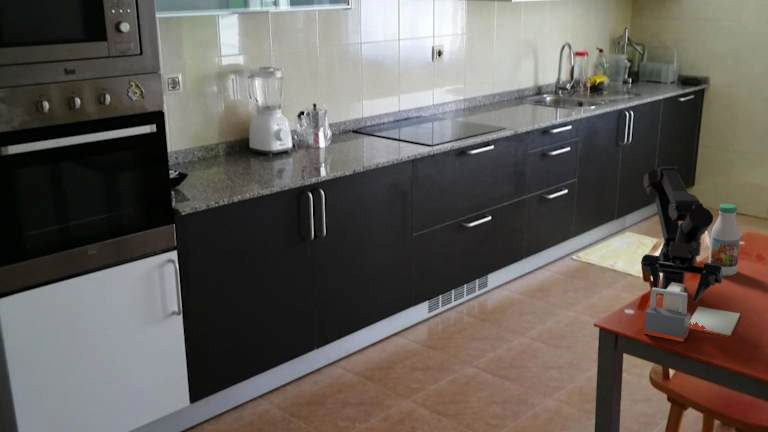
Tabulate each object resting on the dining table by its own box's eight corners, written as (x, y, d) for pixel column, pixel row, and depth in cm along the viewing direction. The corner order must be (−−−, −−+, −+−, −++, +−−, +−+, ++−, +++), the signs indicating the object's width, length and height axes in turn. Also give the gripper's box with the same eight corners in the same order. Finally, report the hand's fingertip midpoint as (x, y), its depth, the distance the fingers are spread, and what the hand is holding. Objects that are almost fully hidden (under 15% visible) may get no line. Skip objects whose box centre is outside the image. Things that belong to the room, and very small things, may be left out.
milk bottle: (702, 269, 232) (707, 204, 226) (722, 265, 234) (728, 200, 229) (721, 278, 225) (727, 210, 219) (742, 273, 227) (749, 207, 222)
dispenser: (650, 325, 196) (653, 283, 193) (688, 332, 191) (692, 289, 188) (644, 334, 191) (647, 291, 188) (683, 342, 186) (686, 298, 183)
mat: (698, 308, 205) (698, 306, 204) (739, 315, 199) (740, 313, 199) (686, 328, 193) (686, 326, 193) (730, 336, 188) (730, 334, 188)
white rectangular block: (668, 319, 199) (671, 282, 196) (681, 321, 198) (684, 284, 195) (660, 330, 193) (663, 292, 190) (674, 333, 191) (677, 295, 188)
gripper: (645, 223, 198) (631, 278, 192) (724, 233, 188) (712, 291, 182) (651, 244, 207) (637, 298, 201) (727, 254, 197) (716, 311, 191)
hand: (674, 299), depth 193 cm, fingers open, 9 cm apart
